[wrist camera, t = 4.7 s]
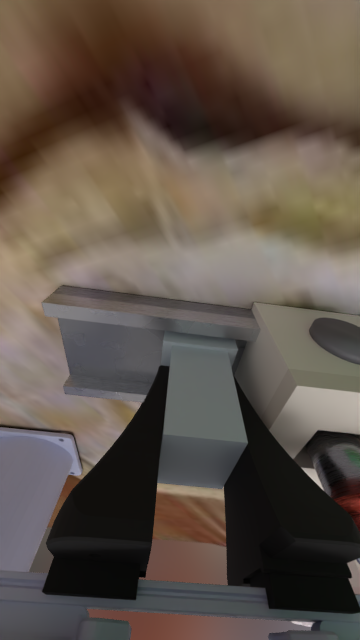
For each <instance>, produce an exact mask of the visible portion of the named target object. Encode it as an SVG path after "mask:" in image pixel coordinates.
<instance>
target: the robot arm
mask: <svg viewBox="0 0 360 640" xmlns="http://www.w3.org/2000/svg"><path fill="white" fill-rule="evenodd" d="M169 367H170V366H163V365H161V366H159V368H158V372H157V375H156V377H155V380H154V382H153V384H152V386H151V388H150V390H149V392H148V394H147V396H146V398H145V399H144V401H143V403H142V404H141V406H140V408H139V409H138V411H137V413H136V414H135V416H134V417H133V419H132V420H131V422H130V423H129V424H128V426H127V427H126V429H125V430H124V431H123V433H122V434H121V435H120V437H119V438H118V439H117V440H116V442H115V443H114V444H113V445H112V447H111V448H110V449H109V450H108V451H107V453H106V454H105V455H104V456H103V457H102V458H101V459H100V461H99V462H98V463H97V464H96V465H95V466H94V467H93V468H92V470H91V471H90V472H89V473H88V474H87V475H86V476H85V477H84V478H83V479H82V480H81V481H80V482H79V483H78V484H77V485H76V486H75V487H74V488H73V489H72V491H71V492H70V494H69V496H68V497H67V499H66V500H65V502H64V504H63V505H62V507H61V509H60V511H59V513H58V515H57V517H56V519H55V521H54V524H53V526H52V529H51V531H50V534H49V536H48V539H47V542H46V545H47V548H48V550H49V551H50V552H51V553H52V554H53V556H54V559H53V561H52V564H51V567H50V570H49V573H36V572H29V570H30V567H31V565H32V562H33V560H34V557H35V555H36V552H37V550H38V547H39V545H40V543H41V540H42V538H43V535H44V533H45V530H46V528H47V525H48V523H49V521H50V518H51V516H52V513H53V511H54V508H55V506H56V503H57V501H58V498H59V496H60V494H61V491H62V489H63V486H64V484H65V481H66V479H67V476H68V475H81V473H82V467H81V463H80V460H79V456H78V452H77V449H76V445H75V441H74V437H73V436H72V435H70V434H63V433H54V432H44V431H34V430H24V429H14V428H4V427H0V640H130V636H131V626H130V625H129V622H128V621H122V620H113V619H103V618H89V613H88V611H87V609H102V610H119V611H134V612H151V613H167V614H184V615H199V616H200V615H201V616H217V617H233V618H250V619H265V620H281V621H297V622H313V624H312V626H311V631H292V630H289V631H287V632H281V633H270V634H269V636H268V638H269V640H360V594H354V591H353V589H352V586H351V584H350V581H349V579H350V578H352V574H351V571H350V569H349V567H348V564H347V563H348V562H351V561H353V560H356V559H358V558H360V532H359V530H358V528H357V526H356V524H355V522H354V520H353V519H352V517H351V515H350V514H349V513H348V512H347V511H346V510H344V509H343V508H342V507H341V506H340V505H339V504H338V503H337V502H336V501H335V500H333V499H332V498H331V497H330V496H329V495H328V494H327V493H326V492H325V491H324V490H322V489H321V488H320V487H319V486H318V485H317V484H316V483H315V482H314V481H313V480H312V479H311V478H310V477H309V476H308V475H307V474H306V473H305V472H304V470H303V469H302V468H301V467H300V466H299V465H298V464H297V463H296V462H295V461H294V460H293V459H292V458H291V456H290V455H289V454H288V453H287V452H286V451H285V450H284V448H283V447H282V446H281V445H280V444H279V442H278V441H277V440H276V439H275V437H274V436H273V435H272V434H271V432H270V431H269V430H268V428H267V427H266V426H265V424H264V423H263V421H262V420H261V419H260V417H259V416H258V414H257V413H256V411H255V410H254V408H253V407H252V405H251V403H250V402H249V400H248V399H247V397H246V395H245V394H244V392H243V390H242V389H241V387H240V385H239V383H238V382H237V380H236V378H235V376H234V375H233V377H234V382H235V386H236V391H237V395H238V400H239V405H240V409H241V414H242V418H243V423H244V427H245V432H246V436H247V441H248V444H247V446H246V447H245V449H244V451H243V453H242V454H241V456H240V458H239V460H238V461H237V463H236V465H235V467H234V469H233V470H232V472H231V474H230V476H229V477H228V479H227V481H226V483H225V484H224V497H225V517H226V546H227V580H228V585H213V584H199V583H183V582H169V581H153V580H140V579H139V577H144V578H145V577H146V569H147V564H148V561H149V556H150V551H151V546H152V536H153V526H154V515H155V503H156V492H157V481H158V470H159V459H160V448H161V437H162V428H163V421H164V414H165V407H166V398H167V388H168V378H169ZM348 578H349V579H348Z"/></svg>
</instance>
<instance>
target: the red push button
mask: <svg viewBox="0 0 360 640" xmlns="http://www.w3.org/2000/svg"><path fill="white" fill-rule="evenodd" d="M305 447H306V450H307V452H308V454H309V457H310V459H311V461H312V464H313V466H314V468H315V471H316V473H317V475H318V478H319V480H320V482H321V485H322V487H323V489H324V491H325V492H326V493H327V494H328V495H329V496H330V497H331V498H332V499H333V500H335V501H336V502H337V503H338V504H339V505H340V506H341V507H342V508H343V509H344V510H346V511H347V512H348V513H349V514H350V515H351V517H352V519H353V520H354V522H355V524H356V526H357V528H358V530H359V532H360V442H359V440H358V439H357V437H356V436H355V434H352V433H342V432H333V431H324V430H317V432H316V433H315V434H314V435H313V436H312V438H311V439H310V440H309V441H308V442H307V443H306V445H305Z"/></svg>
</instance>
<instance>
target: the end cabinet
mask: <svg viewBox="0 0 360 640" xmlns="http://www.w3.org/2000/svg"><path fill="white" fill-rule="evenodd" d="M251 310H252V312H253V314H254V316H255V318H256V321H257V323H258V325H259V327H260V329H261V330H260V332H259V335H258V337H257V340H256V342H255V341H247V343H246V346H245V349H244V351H243V354H242V357H241V359H240V362H239V365H238V367H237V370H236V372H235V375H234V376H235V378H236V380H237V382H238V383H239V385H240V387H241V389H242V390H243V392H244V394H245V395H246V397H247V399H248V400H249V402H250V403H251V405H252V407H253V408H254V410H255V411H256V413H257V414H258V416H259V417H260V419H261V420H262V421H263V423H264V424H265V426H266V427H267V428H268V430H269V431H270V432H271V434H272V435H273V436H274V437H275V439H276V440H277V441H278V442H279V444H280V445H281V446H282V447H283V448H284V450H285V451H286V452H287V453H288V454H289V455H290V456H291V458H292V459H293V460H294V461H295V462H296V463H297V464H298V465H299V466H300V467H301V468H302V469H303V470H304V472H305V473H306V474H307V475H308V476H309V477H310V478H311V479H312V480H313V481H314V482H315V483H316V484H317V485H318V486H319V487H320V488H321V489H322V490H324V489H323V487H322V485H321V482H320V480H319V478H318V475H317V473H316V471H315V468H314V466H313V464H312V461H311V459H310V457H309V454H308V452H307V450H306V447H305V445H306V443H307V442H308V441H309V440H310V439H311V438H312V436H313V435H314V434H315V433H316V432H317V430H324V431H333V432H342V433H352V434H355V436H356V437H357V439H358V440H359V442H360V316H358V315H350V314H342V313H334V312H326V311H319V310H311V309H303V308H295V307H288V306H280V305H272V304H264V303H256V302H254V304H253V306H252V309H251Z"/></svg>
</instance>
